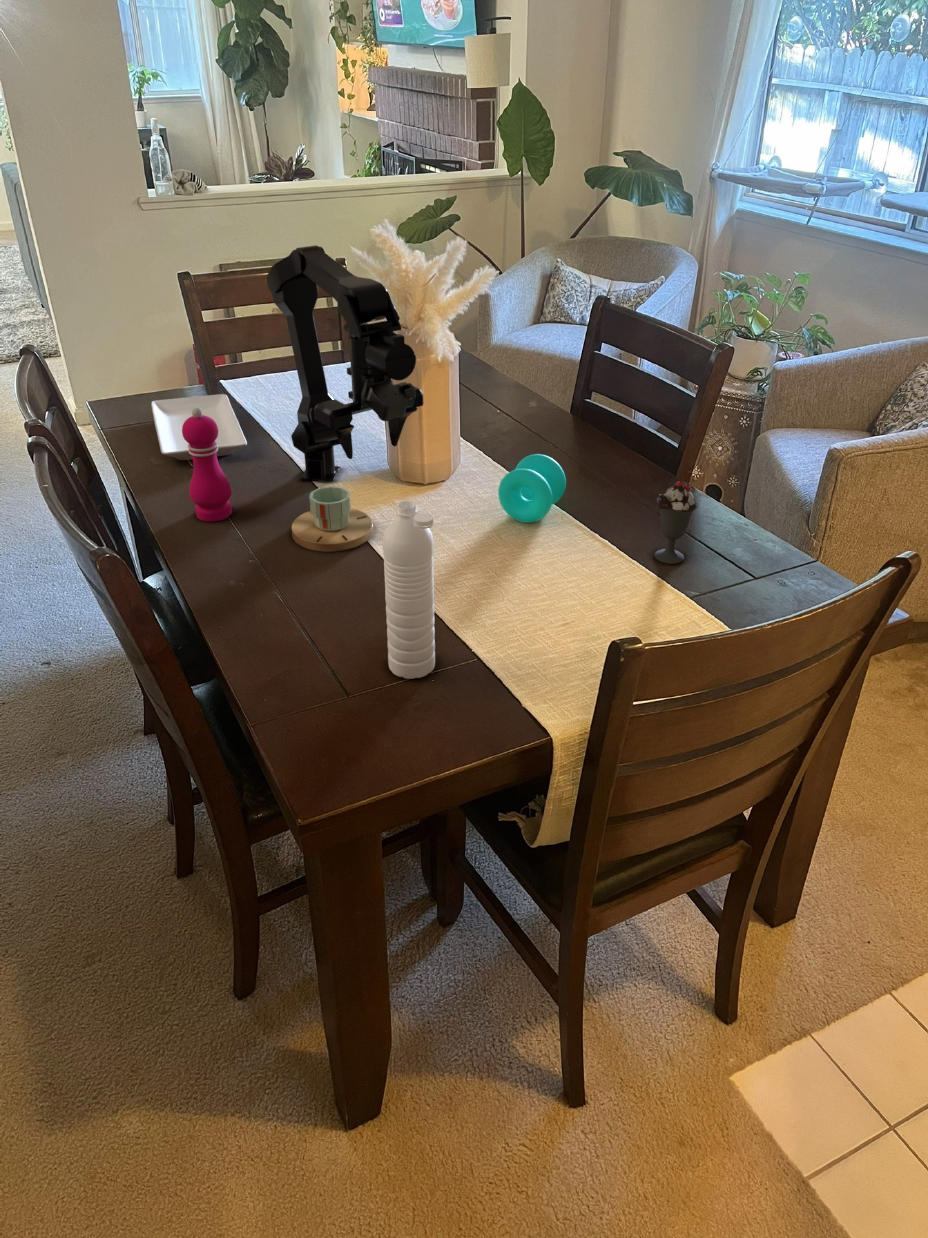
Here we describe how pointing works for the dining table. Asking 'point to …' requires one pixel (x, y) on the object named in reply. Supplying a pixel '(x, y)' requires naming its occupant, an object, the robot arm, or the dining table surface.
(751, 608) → the dining table surface
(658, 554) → the sundae
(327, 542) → the turntable
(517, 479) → the teal yo-yo
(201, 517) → the pepper mill
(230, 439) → the tray
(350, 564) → the dining table surface
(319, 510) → the green cup
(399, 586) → the water bottle
